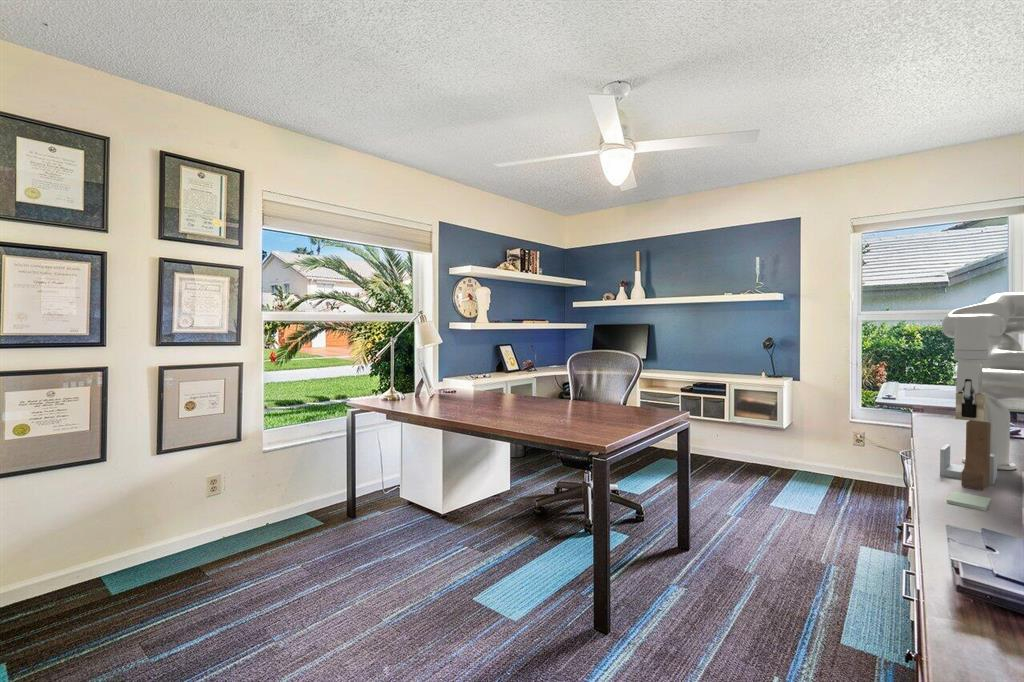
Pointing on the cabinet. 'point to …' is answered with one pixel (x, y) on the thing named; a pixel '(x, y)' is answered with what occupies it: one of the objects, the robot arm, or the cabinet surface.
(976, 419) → the beech block
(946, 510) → the cabinet surface
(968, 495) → the mat
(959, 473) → the slot guard
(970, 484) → the wooden block
